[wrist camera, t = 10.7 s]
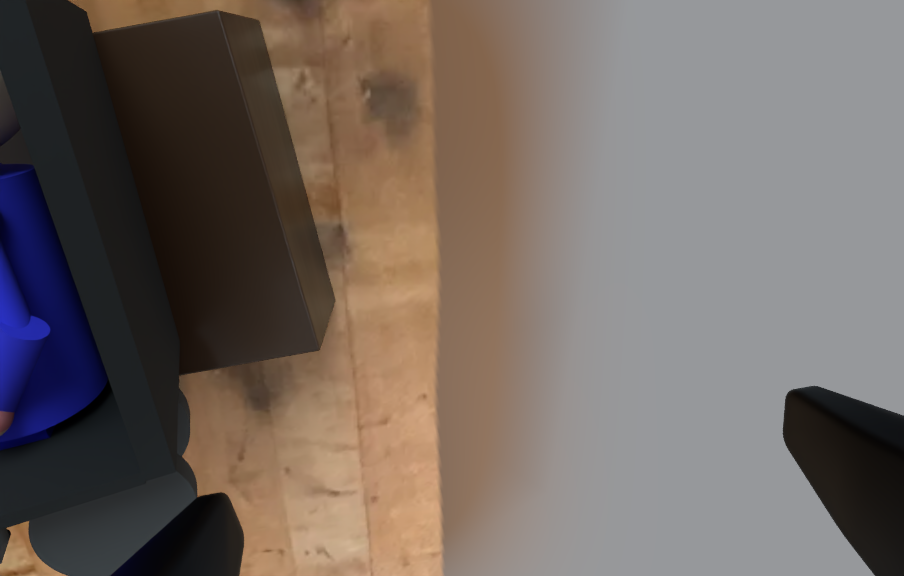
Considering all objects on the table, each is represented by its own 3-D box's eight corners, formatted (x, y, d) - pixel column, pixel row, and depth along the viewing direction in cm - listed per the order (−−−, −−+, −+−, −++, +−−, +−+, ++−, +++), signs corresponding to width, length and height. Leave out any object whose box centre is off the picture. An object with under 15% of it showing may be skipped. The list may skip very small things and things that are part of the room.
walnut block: (259, 19, 18) (219, 9, 14) (335, 300, 22) (320, 350, 18) (-49, 75, 18) (-170, 79, 14) (83, 346, 22) (15, 405, 18)
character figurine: (76, 444, 19) (-108, -68, 13) (286, 439, 19) (191, -83, 13) (-160, 680, 12) (-781, -221, 6) (178, 675, 12) (-138, -259, 6)
